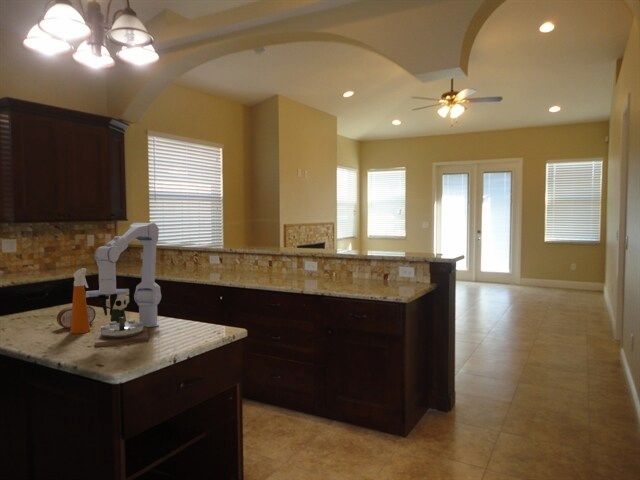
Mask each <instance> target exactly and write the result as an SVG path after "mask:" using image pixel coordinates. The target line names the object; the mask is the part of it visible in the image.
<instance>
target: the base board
mask: <svg viewBox="0 0 640 480" xmlns="http://www.w3.org/2000/svg"><path fill="white" fill-rule="evenodd" d="M143 342H144V343H145V342H149V335H148V327H147V326H143V332H142V333H141V334H139V335H136V336H132V337H127V338H104V337H102V336H101V329H99V330H97V334H96V338H95V341H94V346H95V348H96V347H107V346H113V345H114V346H115V345H125V344H133V343H143Z"/></svg>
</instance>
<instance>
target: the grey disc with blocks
mask: <svg viewBox="0 0 640 480" xmlns="http://www.w3.org/2000/svg"><path fill="white" fill-rule="evenodd" d="M100 330H101V336H102V337H104V338H127V337H132V336H136V335H139V334H141V333H142V332H143V322H142V323H138V322H137V321H136V320H135V319H129V320H127V321H126V322H125V317H119V323H117V322H116V321H114V322H109V324H107V325H100Z"/></svg>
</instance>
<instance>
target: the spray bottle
mask: <svg viewBox="0 0 640 480" xmlns="http://www.w3.org/2000/svg"><path fill="white" fill-rule="evenodd" d="M86 272H87V268H85V267H84V268H83V267H81V268H79V269H78V270H76V271H74V273H73V278H74V281H73V292H72V304H71V305H72V306H71V307H72V318H71V328H70V333H71V334H73V335H75V334H76V335H79V334H86V333H88V332H90V331H91V326H90V324H89V318H88V311H87V305H88V304H87V297H86V290H85V288H86V289H88V288H90V287H89V285H88V283H87V279H86Z"/></svg>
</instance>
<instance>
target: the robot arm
mask: <svg viewBox="0 0 640 480" xmlns="http://www.w3.org/2000/svg"><path fill="white" fill-rule="evenodd" d="M159 233H160V229H159V227H158V225H157V223H155V222H132V224H129V229H127V230H126V232H125V233H123V235H121V236H119V235H115V236H114V237H113V239H111V240H110V241H109V242H107V243H106V244H105V245H103V246H99V247H97V248H96V249H95V251H94V254H93V256H94V260H95V261H96V265H97V267H98V286H99V288H98V290H87V291H86V290H85V296H86V298H90V297H92V298H93V297H94V298H95V297H98V299H97V300H98V301H99V303H100V304H101V308H102V309H103V312H104V316H105V317H107V315H108V309H107V308H108V307H107V306H106V300H107V297H109V296H110V308H109V316H111V315H112V310H113V306H114V304H115V301H116V299H117V295H126V296H130V289H129V288H117V274H116V273H117V268H116V267H117V266H116V263H117V261H118V260H119V258H120V255H121V253H123V252H124V251H125V250H127V248H128V247H129V243H130V242H132V241H133V240H136V241H138V242H139V243H141V244H142V246H143V247H142V266H141V267H142V268H141V282H139V283H138V284H137V285H136V287H135V291H134V294H133V298H134V301H135V303H136V304H137V305H136V306H138V317H139V319H138V320H139V321H138V322H137V323H142V322H143V326H147V328H151V327H159V326H160V325H159V320H158V305H159V304H160V302H161V300H162V293H161V292H162V291H161V286H160V285H159V284H158V283H156V282H155V281H156V261H157V259H156V258H157V244H158V242H159ZM112 293H113V294H112Z"/></svg>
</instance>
